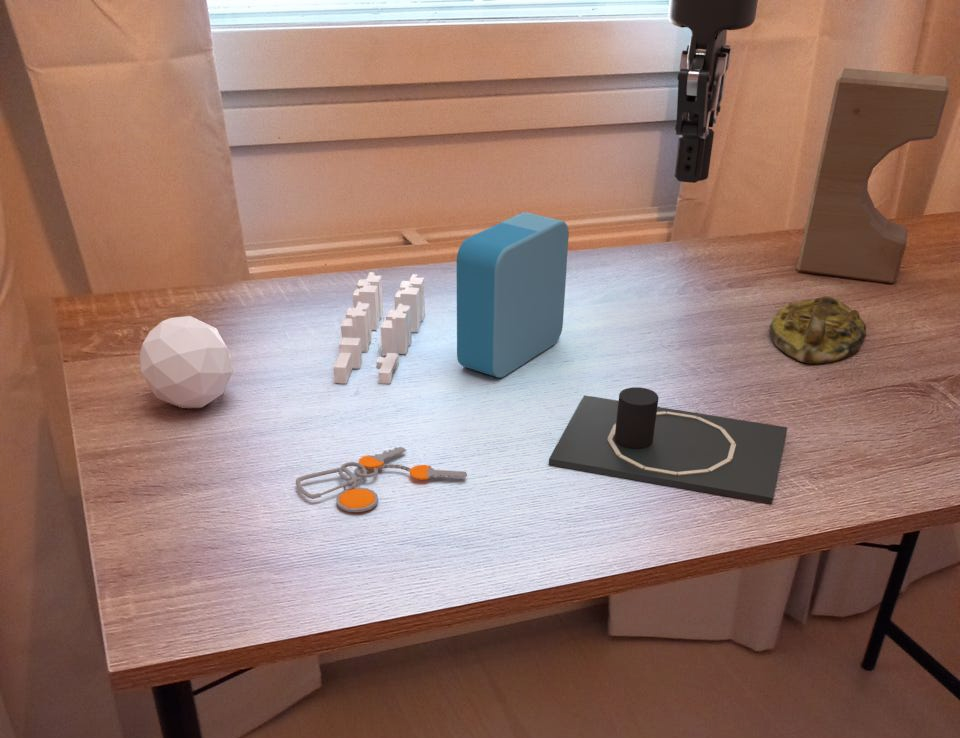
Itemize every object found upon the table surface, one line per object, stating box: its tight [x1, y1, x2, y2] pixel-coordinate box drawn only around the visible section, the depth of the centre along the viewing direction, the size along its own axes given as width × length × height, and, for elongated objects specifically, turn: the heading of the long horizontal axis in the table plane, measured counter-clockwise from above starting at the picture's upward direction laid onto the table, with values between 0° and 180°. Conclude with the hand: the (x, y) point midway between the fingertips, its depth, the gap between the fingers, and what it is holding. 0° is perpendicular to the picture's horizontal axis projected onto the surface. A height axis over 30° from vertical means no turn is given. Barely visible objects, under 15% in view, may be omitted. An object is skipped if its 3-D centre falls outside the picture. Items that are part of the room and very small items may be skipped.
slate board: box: [548, 394, 788, 505], centre depth 86 cm, size 18×12×1 cm, turn 72°
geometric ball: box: [138, 315, 234, 409], centre depth 89 cm, size 8×8×8 cm
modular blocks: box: [333, 271, 426, 395], centre depth 99 cm, size 20×7×4 cm, turn 176°
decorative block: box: [796, 67, 950, 285], centre depth 112 cm, size 11×6×20 cm, turn 69°
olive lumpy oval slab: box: [769, 295, 867, 365], centre depth 103 cm, size 9×5×15 cm
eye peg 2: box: [673, 128, 715, 182], centre depth 96 cm, size 3×3×4 cm
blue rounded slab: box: [456, 211, 570, 379], centre depth 96 cm, size 12×4×12 cm, turn 145°
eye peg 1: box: [615, 386, 659, 449], centre depth 84 cm, size 3×3×4 cm
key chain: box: [295, 446, 468, 513], centre depth 81 cm, size 13×7×1 cm, turn 119°
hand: (691, 174), depth 97 cm, fingers closed on eye peg 2, 3 cm apart
